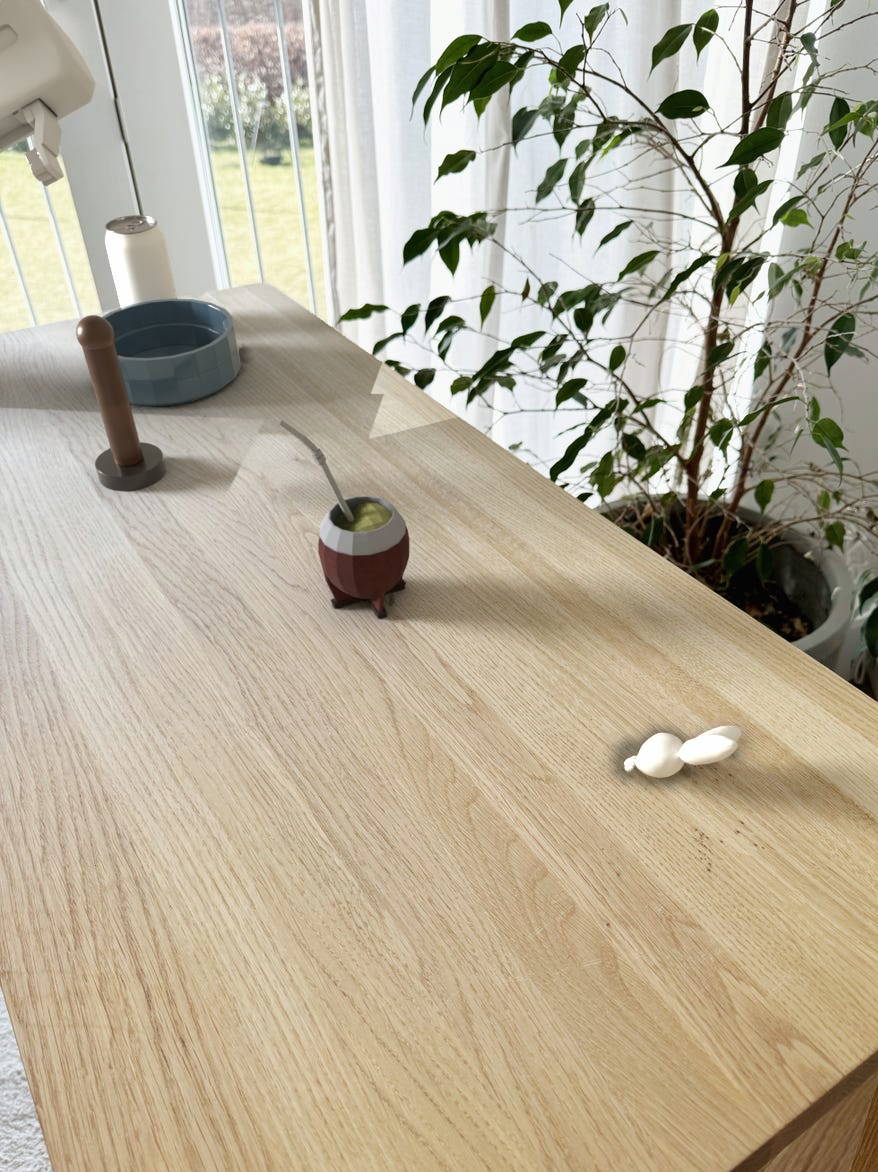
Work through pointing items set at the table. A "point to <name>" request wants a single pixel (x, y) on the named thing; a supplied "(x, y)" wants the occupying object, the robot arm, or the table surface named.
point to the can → (139, 260)
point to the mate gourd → (359, 544)
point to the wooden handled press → (116, 414)
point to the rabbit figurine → (683, 751)
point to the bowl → (174, 350)
